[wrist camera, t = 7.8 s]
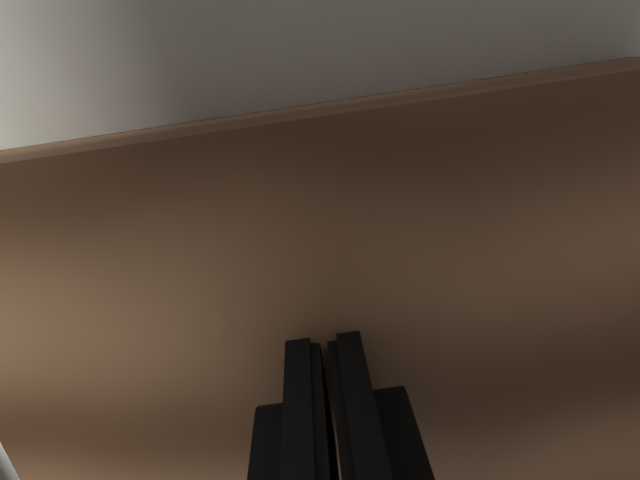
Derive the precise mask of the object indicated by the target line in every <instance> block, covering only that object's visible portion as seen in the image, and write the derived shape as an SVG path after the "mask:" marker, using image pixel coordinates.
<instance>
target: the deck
mask: <svg viewBox="0 0 640 480" xmlns="http://www.w3.org/2000/svg"><path fill="white" fill-rule="evenodd" d="M352 331H360V335H361V339H362V344H363V348H364V353H365V357H366V361H367V366H368V370H369V375H370V379H371V384H372V388H373V390H375V389H382V388H389V387H396V386H404V387H405V389H406V391H407V394H408V397H409V400H410V403H411V406H412V410H413V413H414V416H415V419H416V422H417V425H418V428H419V431H420V434H421V437H422V440H423V443H424V447H425V450H426V453H427V456H428V459H429V462H430V465H431V468H432V471H433V474H434V477H435V480H640V57H629V58H623V59H616V60H609V61H602V62H596V63H589V64H582V65H575V66H569V67H562V68H555V69H548V70H541V71H535V72H528V73H521V74H514V75H508V76H501V77H494V78H487V79H481V80H474V81H467V82H460V83H453V84H447V85H440V86H433V87H426V88H420V89H413V90H406V91H399V92H393V93H386V94H379V95H372V96H365V97H359V98H352V99H345V100H338V101H332V102H325V103H318V104H311V105H305V106H298V107H291V108H284V109H277V110H271V111H264V112H257V113H250V114H244V115H237V116H230V117H223V118H217V119H210V120H203V121H196V122H189V123H183V124H176V125H169V126H162V127H156V128H149V129H142V130H135V131H129V132H122V133H115V134H108V135H101V136H95V137H88V138H81V139H74V140H68V141H61V142H54V143H47V144H41V145H34V146H27V147H20V148H14V149H7V150H0V442H1V444H2V446H3V448H4V450H5V451H6V453H7V455H8V457H9V459H10V461H11V463H12V465H13V467H14V468H15V470H16V472H17V474H18V476H19V478H20V480H247V474H248V466H249V457H250V449H251V440H252V432H253V424H254V415H255V410H256V407H257V406H260V405H268V404H275V403H282V402H283V382H284V358H285V341H288V340H295V339H302V338H310V341H311V344H313V343H320V347H321V353H322V359H323V365H324V372H325V378H326V384H327V390H328V396H329V403H330V409H331V415H332V421H333V427H334V434H335V441H336V450H337V460H338V470H339V480H342V479H341V470H340V460H339V451H338V441H337V432H336V422H335V412H334V403H333V393H332V383H331V374H330V364H329V355H328V345H327V341H335V340H337V339H336V334H337V333H345V332H352Z"/></svg>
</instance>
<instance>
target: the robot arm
mask: <svg viewBox="0 0 640 480" xmlns="http://www.w3.org/2000/svg"><path fill="white" fill-rule="evenodd" d="M336 339H337V340H335V341H327V345H328V355H329V364H330V374H331V383H332V393H333V403H334V412H335V422H336V432H337V441H338V451H339V460H340V470H341V479H342V480H435V477H434V474H433V471H432V468H431V465H430V462H429V459H428V456H427V453H426V450H425V447H424V443H423V440H422V437H421V434H420V431H419V428H418V425H417V422H416V419H415V416H414V413H413V410H412V406H411V403H410V400H409V397H408V394H407V391H406V389H405V387H404V386H396V387H389V388H382V389H375V390H373V388H372V384H371V379H370V375H369V370H368V366H367V361H366V357H365V353H364V348H363V344H362V339H361V335H360V331H352V332H345V333H337V334H336ZM247 480H339V470H338V460H337V450H336V441H335V434H334V427H333V421H332V415H331V409H330V403H329V396H328V390H327V384H326V378H325V372H324V365H323V359H322V353H321V347H320V343H313V344H311V341H310V338H302V339H295V340H288V341H285V358H284V382H283V402H282V403H275V404H268V405H260V406H257V407H256V410H255V415H254V424H253V432H252V440H251V449H250V457H249V466H248V474H247Z"/></svg>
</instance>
